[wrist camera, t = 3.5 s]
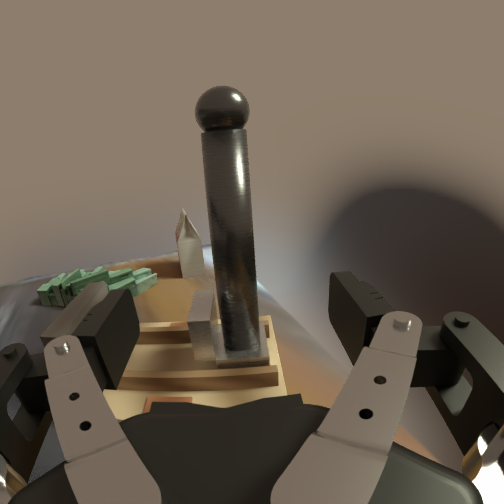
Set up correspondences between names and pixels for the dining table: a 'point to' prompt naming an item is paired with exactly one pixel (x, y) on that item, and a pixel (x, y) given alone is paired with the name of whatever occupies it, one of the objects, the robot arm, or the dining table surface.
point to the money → (69, 287)
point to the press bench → (173, 365)
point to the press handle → (228, 239)
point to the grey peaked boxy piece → (189, 248)
